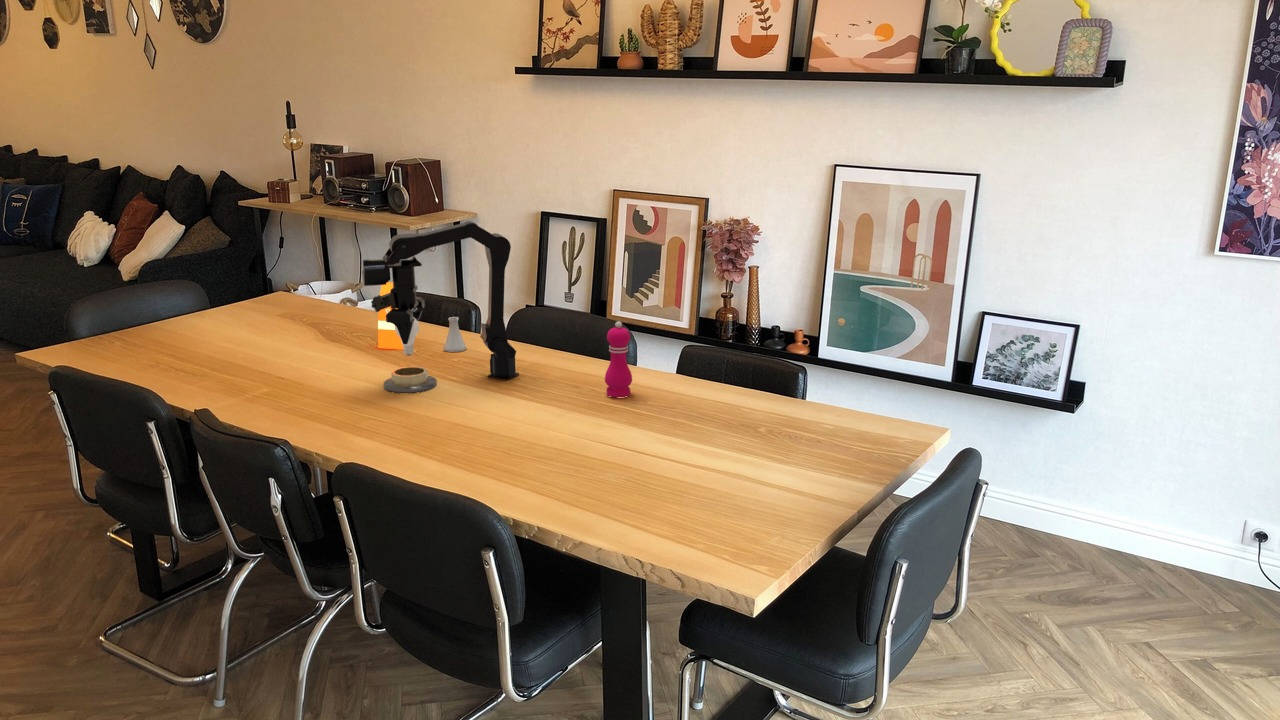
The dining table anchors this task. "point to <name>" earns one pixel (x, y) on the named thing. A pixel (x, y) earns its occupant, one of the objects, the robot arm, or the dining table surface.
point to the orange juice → (387, 325)
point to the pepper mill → (618, 362)
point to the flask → (454, 337)
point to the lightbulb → (410, 338)
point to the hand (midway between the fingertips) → (407, 340)
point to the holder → (410, 380)
